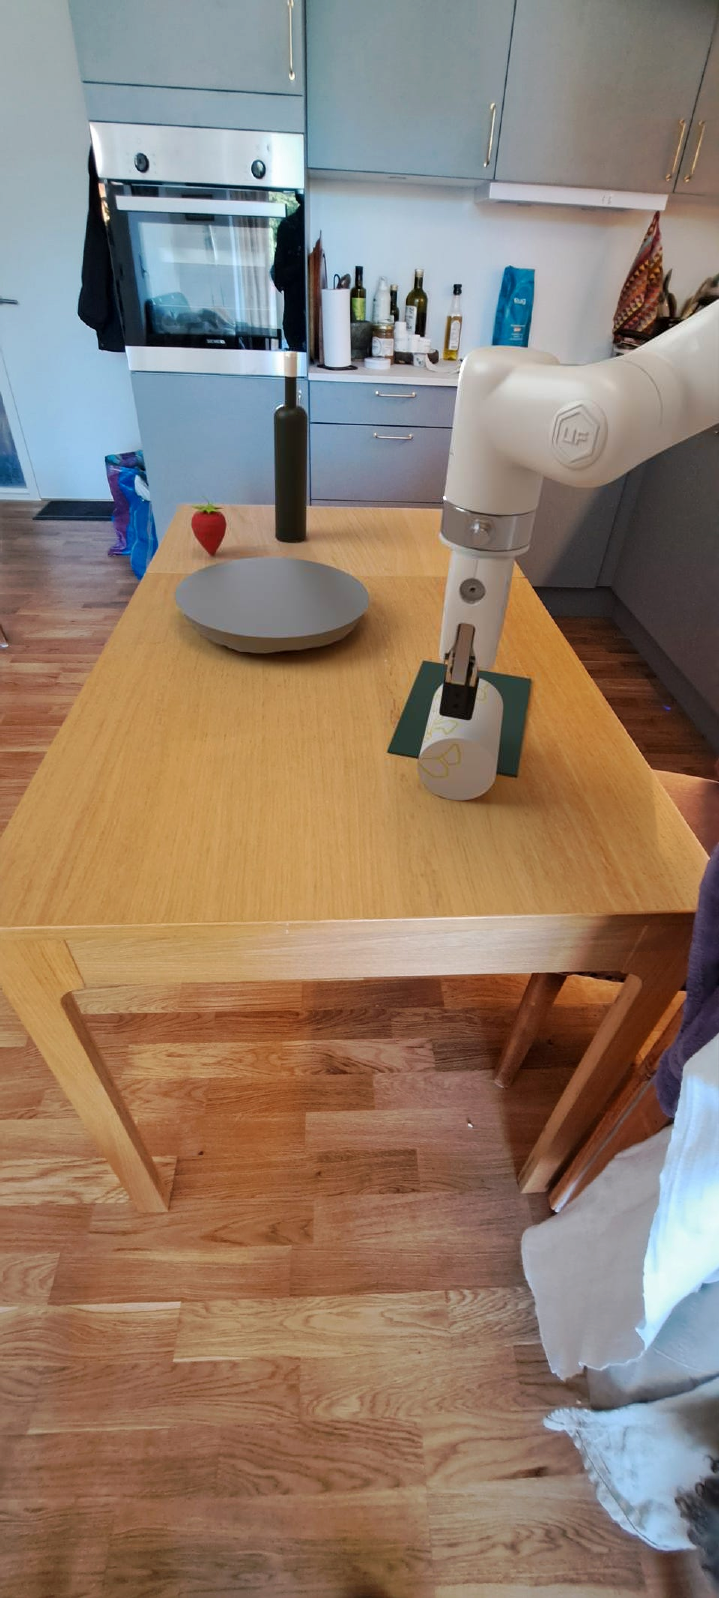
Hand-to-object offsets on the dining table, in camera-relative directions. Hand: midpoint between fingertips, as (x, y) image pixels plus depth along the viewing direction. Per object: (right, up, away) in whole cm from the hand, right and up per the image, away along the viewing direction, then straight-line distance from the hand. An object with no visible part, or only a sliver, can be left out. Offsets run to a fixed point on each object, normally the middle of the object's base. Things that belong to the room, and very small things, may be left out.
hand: (456, 713), depth 72 cm
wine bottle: (-22, +41, +66) cm, 81 cm away
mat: (+4, +2, +21) cm, 21 cm away
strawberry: (-35, +34, +57) cm, 75 cm away
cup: (+1, -5, +4) cm, 7 cm away
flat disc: (-22, +18, +38) cm, 47 cm away
